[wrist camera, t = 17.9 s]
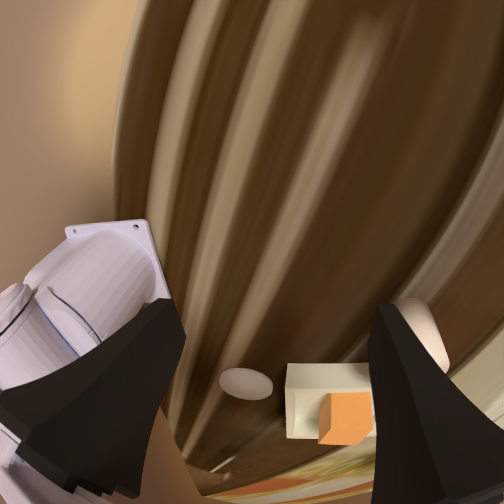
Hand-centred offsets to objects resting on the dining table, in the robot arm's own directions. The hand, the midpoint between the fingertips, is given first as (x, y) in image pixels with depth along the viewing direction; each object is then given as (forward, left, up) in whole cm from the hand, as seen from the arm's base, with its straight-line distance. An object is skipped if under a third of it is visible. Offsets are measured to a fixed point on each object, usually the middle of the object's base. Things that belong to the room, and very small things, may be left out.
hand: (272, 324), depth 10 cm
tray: (+6, -22, -10) cm, 25 cm away
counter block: (+6, -22, -10) cm, 25 cm away
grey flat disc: (-5, -20, -11) cm, 23 cm away
